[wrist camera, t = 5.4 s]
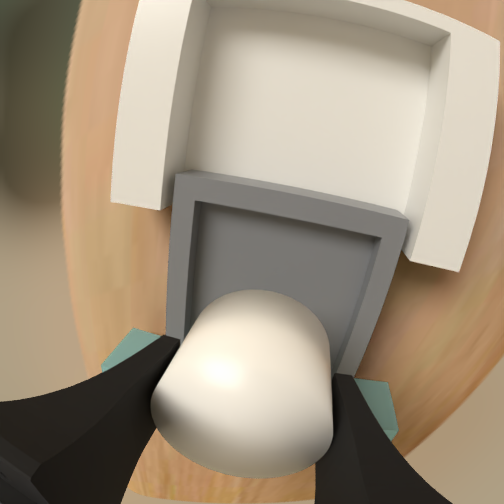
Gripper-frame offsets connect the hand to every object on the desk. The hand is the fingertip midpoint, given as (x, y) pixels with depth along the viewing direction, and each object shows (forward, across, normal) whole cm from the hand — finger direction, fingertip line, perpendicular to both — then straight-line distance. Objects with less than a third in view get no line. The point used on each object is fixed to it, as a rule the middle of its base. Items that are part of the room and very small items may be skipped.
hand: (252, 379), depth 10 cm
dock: (+8, 0, -8) cm, 12 cm away
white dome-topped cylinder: (+1, 0, 0) cm, 1 cm away
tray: (+7, 0, 0) cm, 7 cm away
